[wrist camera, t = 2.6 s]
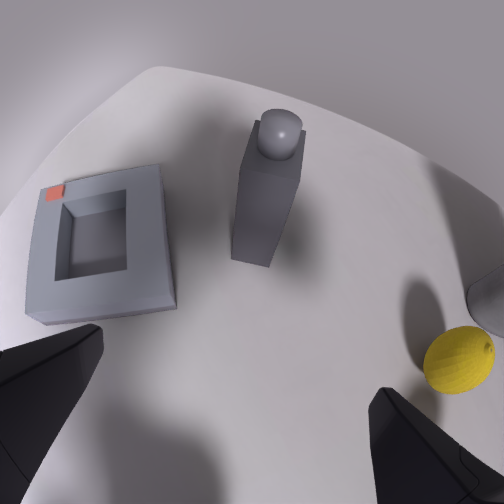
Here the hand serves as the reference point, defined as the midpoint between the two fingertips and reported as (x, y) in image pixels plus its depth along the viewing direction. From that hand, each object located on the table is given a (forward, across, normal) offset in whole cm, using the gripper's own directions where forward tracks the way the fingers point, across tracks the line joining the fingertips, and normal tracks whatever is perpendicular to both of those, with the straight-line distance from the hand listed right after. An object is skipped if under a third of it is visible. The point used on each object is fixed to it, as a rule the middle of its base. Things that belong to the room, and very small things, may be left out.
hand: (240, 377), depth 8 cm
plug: (+18, 0, +1) cm, 18 cm away
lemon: (+12, -18, +7) cm, 23 cm away
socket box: (+15, +13, +4) cm, 21 cm away
